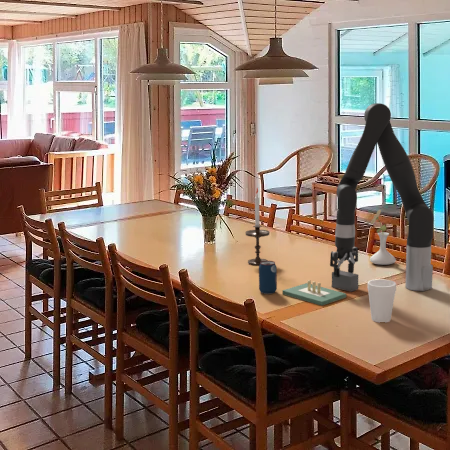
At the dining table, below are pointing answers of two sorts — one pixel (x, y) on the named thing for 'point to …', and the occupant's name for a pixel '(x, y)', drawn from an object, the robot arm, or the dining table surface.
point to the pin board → (314, 293)
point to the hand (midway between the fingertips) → (343, 274)
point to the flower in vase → (382, 246)
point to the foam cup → (381, 299)
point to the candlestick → (257, 234)
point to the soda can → (267, 277)
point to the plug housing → (345, 281)
